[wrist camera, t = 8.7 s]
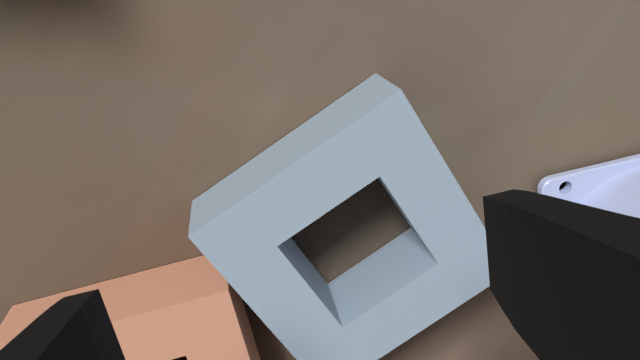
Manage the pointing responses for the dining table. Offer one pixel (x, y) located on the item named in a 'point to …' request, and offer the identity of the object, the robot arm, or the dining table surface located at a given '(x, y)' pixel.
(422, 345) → the dining table surface
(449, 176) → the pale blue square ring
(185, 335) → the pink square ring
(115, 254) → the dining table surface
